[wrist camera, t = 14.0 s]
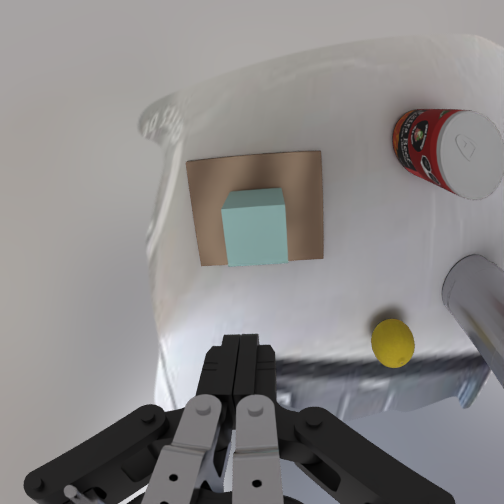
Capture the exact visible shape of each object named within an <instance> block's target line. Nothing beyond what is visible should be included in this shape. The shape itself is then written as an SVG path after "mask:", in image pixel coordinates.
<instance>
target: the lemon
mask: <svg viewBox="0 0 504 504" xmlns="http://www.w3.org/2000/svg"><path fill="white" fill-rule="evenodd" d="M371 344H372V349H373V352H374V354H375V356H376V357H377V359H378V360H379V361H380V362H381V363H382V364H383V365H385V366H387V367H391V368H396V367H401V366H403V365H404V364H406V363H407V362H408V361H409V360H410V359H411V357H412V355H413V353H414V348H415V344H414V338H413V335H412V332H411V331H410V329H409V327H408V326H407V325H406V324H405V323H403V322H402V321H400V320H397V319H387V320H384V321H382V322H381V323H379V324H378V325H377V326H376V328H375V329H374V331H373V333H372V338H371Z"/></svg>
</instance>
